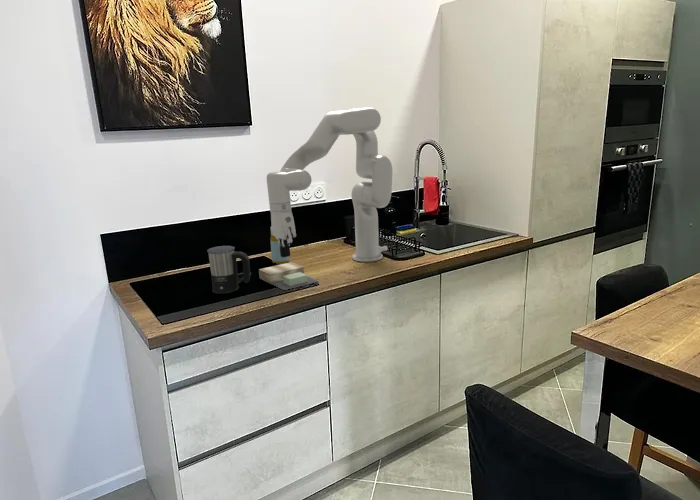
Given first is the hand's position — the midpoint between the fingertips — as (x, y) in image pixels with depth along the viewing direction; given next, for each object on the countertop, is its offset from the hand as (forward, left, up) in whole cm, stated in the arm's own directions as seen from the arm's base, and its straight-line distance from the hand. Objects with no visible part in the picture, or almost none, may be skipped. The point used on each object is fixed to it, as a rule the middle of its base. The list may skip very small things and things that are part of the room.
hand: (285, 256), depth 176 cm
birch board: (+1, -2, -8) cm, 9 cm away
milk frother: (+19, -5, -9) cm, 22 cm away
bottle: (-9, -21, -9) cm, 24 cm away
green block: (+1, +8, -7) cm, 10 cm away
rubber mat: (+1, +7, -8) cm, 11 cm away
